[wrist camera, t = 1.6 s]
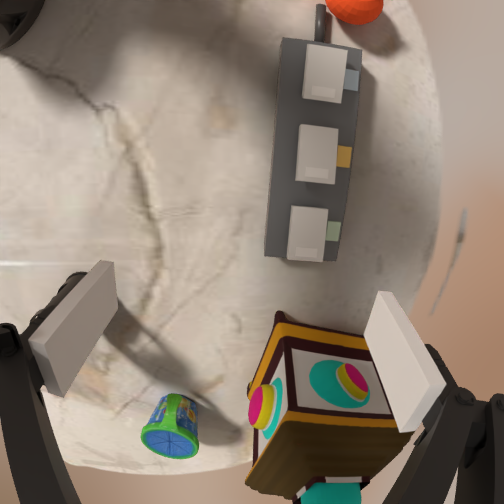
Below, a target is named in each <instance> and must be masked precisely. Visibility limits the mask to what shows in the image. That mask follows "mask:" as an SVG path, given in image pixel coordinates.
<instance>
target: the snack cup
mask: <svg viewBox="0 0 504 504" xmlns="http://www.w3.org/2000/svg"><path fill="white" fill-rule="evenodd" d="M197 435H198V433H197V408H196V405H195V403H194V402H192V401H190V400H189V399H188V398H186V397H183V396H181V395H179V394H168V395H167V396H165V397H162V398H161V400H160V402H159V403H158V405H157V407H156V409H155V411H154V412H153V414H152V416H151V418H150V420H149V422H148V424H147V425H146V426H144V427H143V429H142V433H141V440H142V442H143V444H144V445H145V446H146V447H147V448H148V449H150V450H151V451H153V452H155V453H157V454H159V455H161V456H164V457H168V458H173V459H187V458H191V457H193V456H195V455H196V454H197V452H198V449H199V441H198V439H197Z"/></svg>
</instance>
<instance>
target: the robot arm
mask: <svg viewBox="0 0 504 504" xmlns="http://www.w3.org/2000/svg"><path fill="white" fill-rule="evenodd" d="M43 3H44V0H0V49H4V48H6V47H8V46H10V45H12V44H13V43H15V42H16V41H17V40H19V39H20V38H21V37H22V36H23V35H24V34H25V33H26V31H27V30H28V29H29V28H30V26H31V25H32V24H33V22H34V21H35V19H36V17H37V16H38V14H39V12H40V10H41V8H42V5H43ZM117 310H118V301H117V292H116V283H115V272H114V262H109V261H102V260H100V261H99V262H98V263H97V264H96V265H95V266H94V267H93V268H92V269H91V270H90V271H89V272H88V273H87V274H86V275H85V277H84V278H83V279H82V280H81V281H80V282H79V283H78V284H77V285H76V286H75V287H74V288H73V289H72V290H71V291H70V293H69V294H68V295H67V296H66V297H65V298H64V299H63V300H62V301H61V302H60V303H59V305H58V306H57V305H51V306H49V307H47V308H46V309H44V310H43V311H42V312H41V313H40V314H39V315H38V316H37V318H36V319H35V320H34V321H33V322H32V323H31V324H30V325H29V326H28V327H27V329H26V330H25V331H24V332H23V333H22V334H21V335H20V337H19V334H18V331H17V329H16V326H14V325H13V324H10V323H1V324H0V419H1V425H2V431H3V437H4V442H5V447H6V452H7V456H8V460H9V465H10V469H11V473H12V477H13V480H14V484H15V487H16V491H17V494H18V497H19V501H20V504H81V502H80V499H79V497H78V495H77V493H76V491H75V488H74V486H73V484H72V481H71V479H70V477H69V474H68V472H67V469H66V467H65V464H64V461H63V459H62V456H61V453H60V450H59V448H58V445H57V442H56V439H55V436H54V433H53V430H52V427H51V423H50V420H49V417H48V413H47V410H46V406H45V403H44V399H43V395H42V392H41V390H40V388H41V387H42V385H43V384H44V383H45V386H46V388H47V390H48V393H51V394H54V395H57V396H60V397H63V398H64V396H65V394H66V393H67V391H68V389H69V388H70V386H71V384H72V382H73V381H74V379H75V377H76V376H77V374H78V372H79V371H80V369H81V367H82V366H83V364H84V362H85V361H86V359H87V357H88V356H89V354H90V352H91V351H92V349H93V348H94V346H95V344H96V343H97V341H98V340H99V338H100V336H101V335H102V333H103V332H104V330H105V329H106V327H107V325H108V324H109V322H110V321H111V319H112V318H113V316H114V315H115V313H116V312H117ZM364 337H365V340H366V342H367V345H368V348H369V350H370V353H371V355H372V358H373V360H374V363H375V366H376V368H377V371H378V373H379V376H380V379H381V382H382V384H383V387H384V390H385V392H386V395H387V398H388V401H389V403H390V406H391V409H392V412H393V415H394V418H395V421H396V424H397V427H398V429H399V432H400V433H402V432H411V431H416V429H417V428H418V426H419V425H420V424H421V422H423V425H424V427H425V429H424V431H423V432H422V433H421V435H420V436H419V437H418V439H417V440H416V441H415V443H414V445H415V447H414V449H413V451H412V453H411V455H410V457H409V459H408V461H407V463H406V465H405V466H404V468H403V470H402V472H401V473H400V475H399V477H398V478H397V480H396V482H395V484H394V485H393V487H392V489H391V490H390V492H389V493H388V495H387V497H386V498H385V500H384V502H383V503H382V504H443V503H444V501H445V499H446V496H447V494H448V491H449V489H450V486H451V484H452V481H453V479H454V476H455V473H456V471H457V468H458V476H457V486H456V494H455V501H454V504H504V394H498V393H497V394H494V395H493V396H492V398H491V399H490V401H489V402H486V401H479V400H476V398H475V396H474V395H473V394H472V393H471V392H470V391H469V390H467V389H465V388H462V387H458V386H457V384H456V382H455V380H454V379H453V377H452V375H451V373H450V372H449V370H448V368H447V367H446V365H445V363H444V361H443V360H442V358H441V356H440V355H439V353H438V351H437V350H435V349H434V348H433V347H432V346H431V345H430V344H424V343H423V342H422V340H421V338H420V337H419V335H418V333H417V332H416V330H415V328H414V327H413V326H412V324H411V322H410V320H409V319H408V317H407V315H406V314H405V312H404V311H403V309H402V307H401V306H400V304H399V303H398V301H397V300H396V298H395V296H394V295H393V293H392V292H388V291H378V293H377V296H376V299H375V302H374V305H373V309H372V312H371V315H370V318H369V320H368V323H367V326H366V329H365V332H364Z"/></svg>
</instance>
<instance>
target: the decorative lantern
mask: <svg viewBox="0 0 504 504" xmlns="http://www.w3.org/2000/svg"><path fill="white" fill-rule="evenodd" d="M247 397H248V399H249V400H250V405H249V413H248V416H249V422H250V424H251V425H252V426H253V427H254V441H253V466H252V469H251V471H250V472H249V474H248V476H247V477H246V479H245V484H246V485H247V486H250V488H251V489H253V490H258V492H259V493H261V494H269V495H278V496H283V497H284V498H285V499H288V500H292V502H293V504H361V492H360V491H361V490H362V489H363V488H364V487H366V486H367V485H368V484H369V483H370V480H371V479H372V478H373V477H374V476H375V475H376V474H378V473H379V472H380V471H381V470H382V469H383V468H384V467H385V466H386V465H387V464H388V463H390V462H391V461H392V460H393V459H394V458H395V457H396V456H397V455H398V454H399V453H400V452H401V451H402V450H403V447H404V446H405V445H406V444H407V443H408V442H409V440H410V438H411V436H412V435H413V433H414V432H415V431H411V432H402V433H400V432H399V429H398V427H397V424H396V421H395V418H394V415H393V412H392V409H391V406H390V403H389V401H388V398H387V395H386V392H385V390H384V387H383V384H382V382H381V379H380V376H379V373H378V371H377V368H376V366H375V363H374V360H373V358H372V355H371V353H370V350H369V348H368V345H367V342H366V340H365V337H364V336H362V335H357V334H351V333H346V332H341V331H335V330H330V329H325V328H320V327H315V326H310V325H305V324H301V323H296V322H292V321H289V320H287V319H286V318H285V315H284V313H283V312H282V311H277V312H276V314H275V319H274V326H273V329H272V332H271V335H270V337H269V340H268V343H267V345H266V348H265V350H264V353H263V355H262V358H261V360H260V363H259V366H258V368H257V371H256V373H255V376H254V378H253V381H252V382H250V383H249V384H248V387H247Z"/></svg>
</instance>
